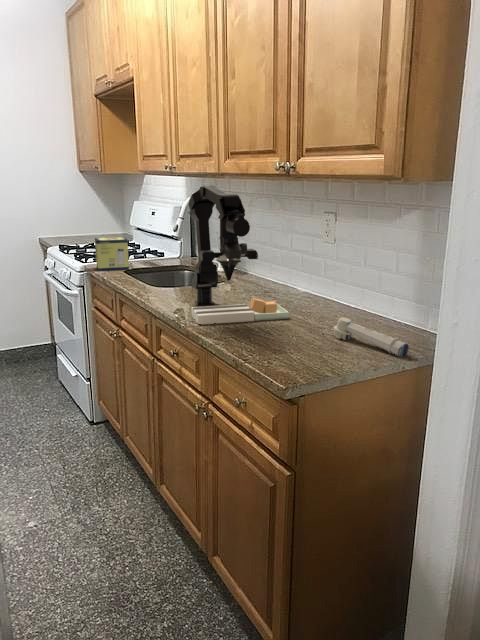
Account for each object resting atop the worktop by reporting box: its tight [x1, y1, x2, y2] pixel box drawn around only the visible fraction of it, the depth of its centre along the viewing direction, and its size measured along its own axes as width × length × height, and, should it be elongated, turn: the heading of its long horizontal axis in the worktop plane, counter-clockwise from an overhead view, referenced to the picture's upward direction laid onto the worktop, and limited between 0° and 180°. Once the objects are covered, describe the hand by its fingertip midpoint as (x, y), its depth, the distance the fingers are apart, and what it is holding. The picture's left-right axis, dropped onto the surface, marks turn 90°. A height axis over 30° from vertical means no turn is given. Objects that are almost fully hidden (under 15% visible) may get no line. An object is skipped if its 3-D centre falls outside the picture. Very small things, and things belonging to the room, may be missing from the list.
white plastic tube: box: [332, 317, 410, 358], centre depth 158 cm, size 5×7×25 cm
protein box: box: [94, 236, 130, 272], centre depth 279 cm, size 10×16×16 cm
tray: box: [247, 303, 290, 322], centre depth 191 cm, size 12×12×2 cm
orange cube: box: [263, 300, 278, 314], centre depth 190 cm, size 4×4×4 cm
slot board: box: [191, 303, 255, 325], centre depth 186 cm, size 12×19×4 cm, turn 105°
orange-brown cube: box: [248, 297, 267, 313], centre depth 189 cm, size 4×4×4 cm
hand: (228, 280), depth 184 cm, fingers closed
